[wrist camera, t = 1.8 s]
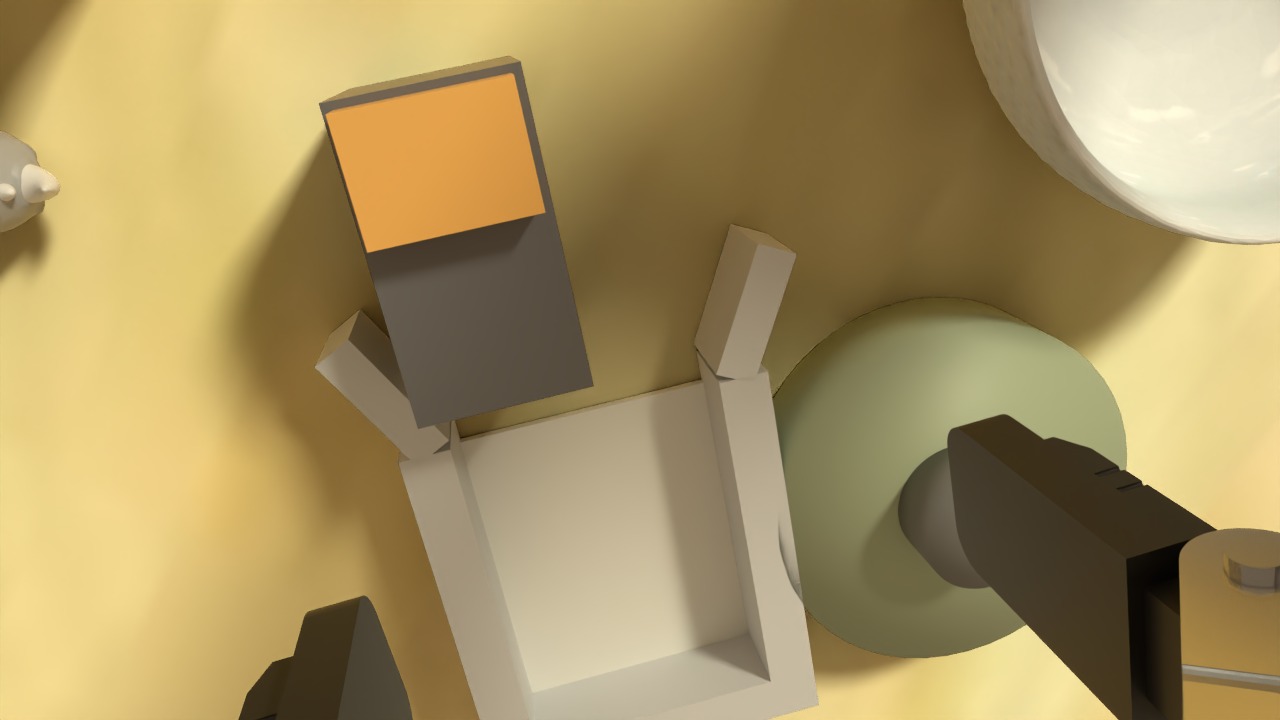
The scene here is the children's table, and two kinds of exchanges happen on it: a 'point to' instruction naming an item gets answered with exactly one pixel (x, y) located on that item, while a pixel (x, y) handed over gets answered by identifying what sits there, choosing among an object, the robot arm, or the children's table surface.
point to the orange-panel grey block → (460, 238)
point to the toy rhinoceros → (22, 183)
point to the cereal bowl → (1147, 104)
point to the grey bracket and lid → (724, 505)
